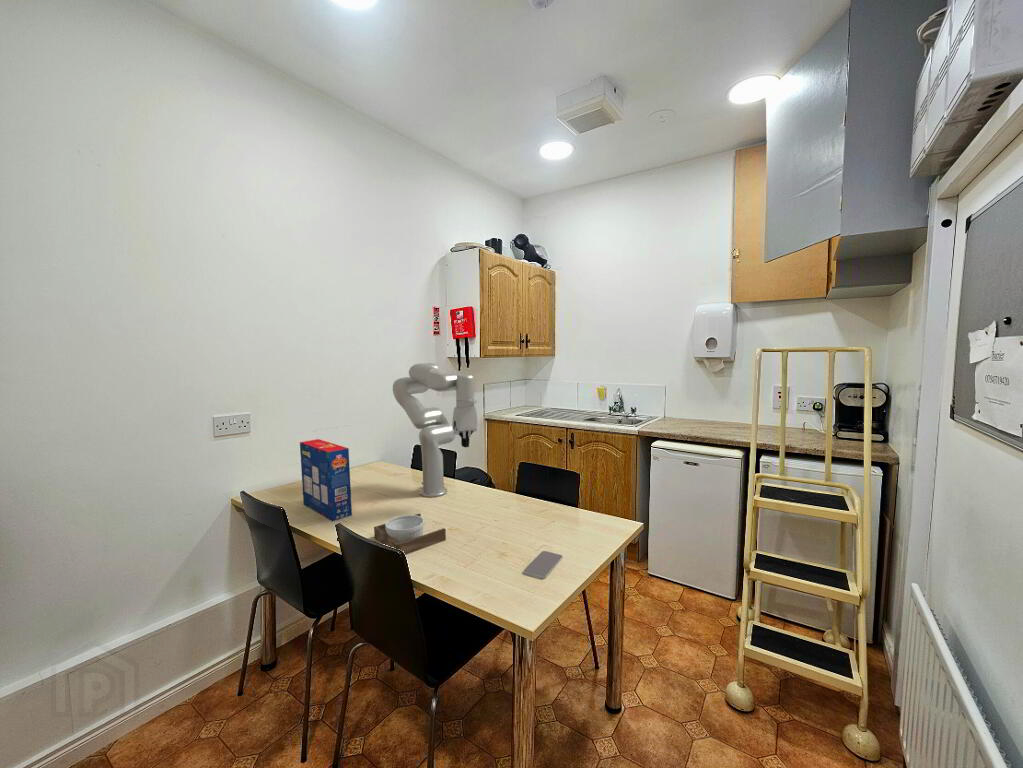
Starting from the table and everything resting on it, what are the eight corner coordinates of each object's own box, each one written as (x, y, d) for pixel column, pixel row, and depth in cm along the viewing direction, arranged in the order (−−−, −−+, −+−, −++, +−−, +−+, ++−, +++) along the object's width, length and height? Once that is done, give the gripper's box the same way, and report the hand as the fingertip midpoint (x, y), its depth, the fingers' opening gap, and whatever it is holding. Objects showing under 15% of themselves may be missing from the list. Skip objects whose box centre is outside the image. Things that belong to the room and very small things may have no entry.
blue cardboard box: (351, 515, 169) (348, 448, 166) (332, 521, 163) (328, 452, 160) (321, 499, 187) (318, 439, 185) (303, 504, 181) (299, 442, 179)
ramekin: (409, 529, 155) (408, 511, 154) (432, 539, 146) (432, 520, 146) (378, 543, 144) (377, 523, 144) (401, 554, 136) (401, 533, 135)
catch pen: (374, 537, 148) (374, 526, 148) (419, 523, 160) (419, 513, 159) (398, 557, 134) (397, 545, 133) (445, 539, 145) (445, 529, 145)
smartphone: (563, 555, 132) (544, 577, 119) (563, 558, 132) (544, 580, 119) (542, 550, 136) (521, 571, 123) (542, 552, 136) (521, 574, 123)
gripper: (475, 401, 181) (475, 442, 183) (445, 404, 172) (445, 447, 174) (484, 403, 175) (484, 445, 177) (454, 406, 166) (454, 451, 168)
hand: (465, 446), depth 176 cm, fingers closed
